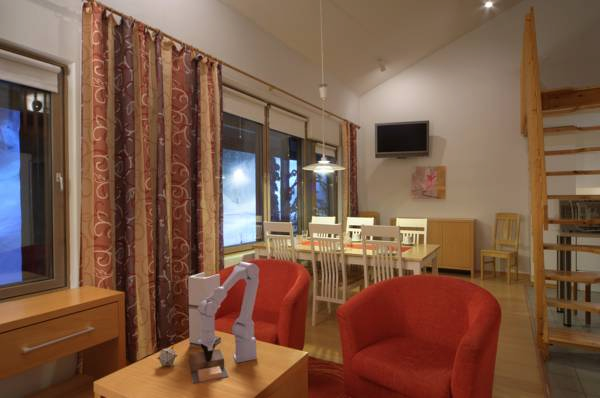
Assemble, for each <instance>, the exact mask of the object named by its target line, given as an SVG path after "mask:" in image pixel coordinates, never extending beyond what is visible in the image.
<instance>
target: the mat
mask: <svg viewBox="0 0 600 398" xmlns="http://www.w3.org/2000/svg"><path fill="white" fill-rule="evenodd" d="M220 369H221V371H222V377H220V378H215V379H210V380H205V381H199V377H198V372H195V373H191V372H190V375H191V378H192V383H193V384H194V385H195V384H199V383H206V382H210V381H215V380H221V379H224V378H225V379H226V378H229V374H228V372H227V370H226V367H225V366H224V367H221V368H220Z"/></svg>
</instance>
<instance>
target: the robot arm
mask: <svg viewBox="0 0 600 398" xmlns="http://www.w3.org/2000/svg"><path fill="white" fill-rule="evenodd" d="M259 273H260V268H259V266H258V265H257V264H255V263H251V262H246V261H239V262H237V264H236V265H235V266H234V267H233V271H231V274H230V275H229V276H228V277H227V279H226V280H225V281H224V282H223V284H222V285H220V287H217V288H215V289H214V291H213V292H212V294H211V295H210V296H209V297H207V298H206V300H204V301H202V302H201V303H200V305H199V308H198V312H199V313H200V317H201V340H198V343H202V344H201V347H202V352H204V356H205V360H206V362H209V361H211V359H212V354H213V350H215V348H216V344H215V343H214V342H215V336H216V334H215V333H216V331H215V315H216V314H217V312H218V309H219V308H218V306H219V304H220V305H221V303H222V302H224V300H225V299H226V298H227V296H228V291H230V289H232V287H233V286H234V285H235V284H236V283H237V282H239V281H240V280H244V281H245V282H246V285H245V290H244V295H243V298H242V299H243V300H242V302H241V303H242V304H241V307H240V308H241V309H240V313H239V317H237V318H236V319H235V321H234V324H233V325H232V328H231V333H232V335H233V336H234V339H235V340H234V341H235V346H234V347H235V354H233V359H234V360H235V362H236V363H242V362H247V361H252V360H253V361H254V360H257V359H258V357H257V356H258V355H257V340H256V337H255V336H254V335H255V328H254V327H255V323H254V321H253V319H252V318H253V317H252V316H253V311H254V307H255V303H256V298H257V297H256V296H257V292H258V287H259V282H260V277H259Z"/></svg>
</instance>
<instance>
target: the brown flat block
mask: <svg viewBox="0 0 600 398" xmlns="http://www.w3.org/2000/svg"><path fill="white" fill-rule="evenodd" d="M188 365H189V370H190V374H191V373H195V372H198V370H202V369H207V368H212V367H218V366H220V368H221V367H225V358H224V355H223V353H222V351H221V349H220V348H218V349H214V350H213V354H212V359H211V361H209V362H206V360H205V356H204V351H200V352H194V353H193V352H192V353H189V354H188Z"/></svg>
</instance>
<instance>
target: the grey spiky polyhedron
mask: <svg viewBox="0 0 600 398" xmlns="http://www.w3.org/2000/svg"><path fill="white" fill-rule="evenodd" d="M160 351H161V352H160V354H159V356H158V357H157V358H156V359H157V360H159V362H160V365H161V366H160V368H161V369H162V368H163V367H168V366H172V367H175V366H174V362H175V359H176V357H178V354H176V353H175V351H174V346H172V347H169V348H163V347H160Z"/></svg>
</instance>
